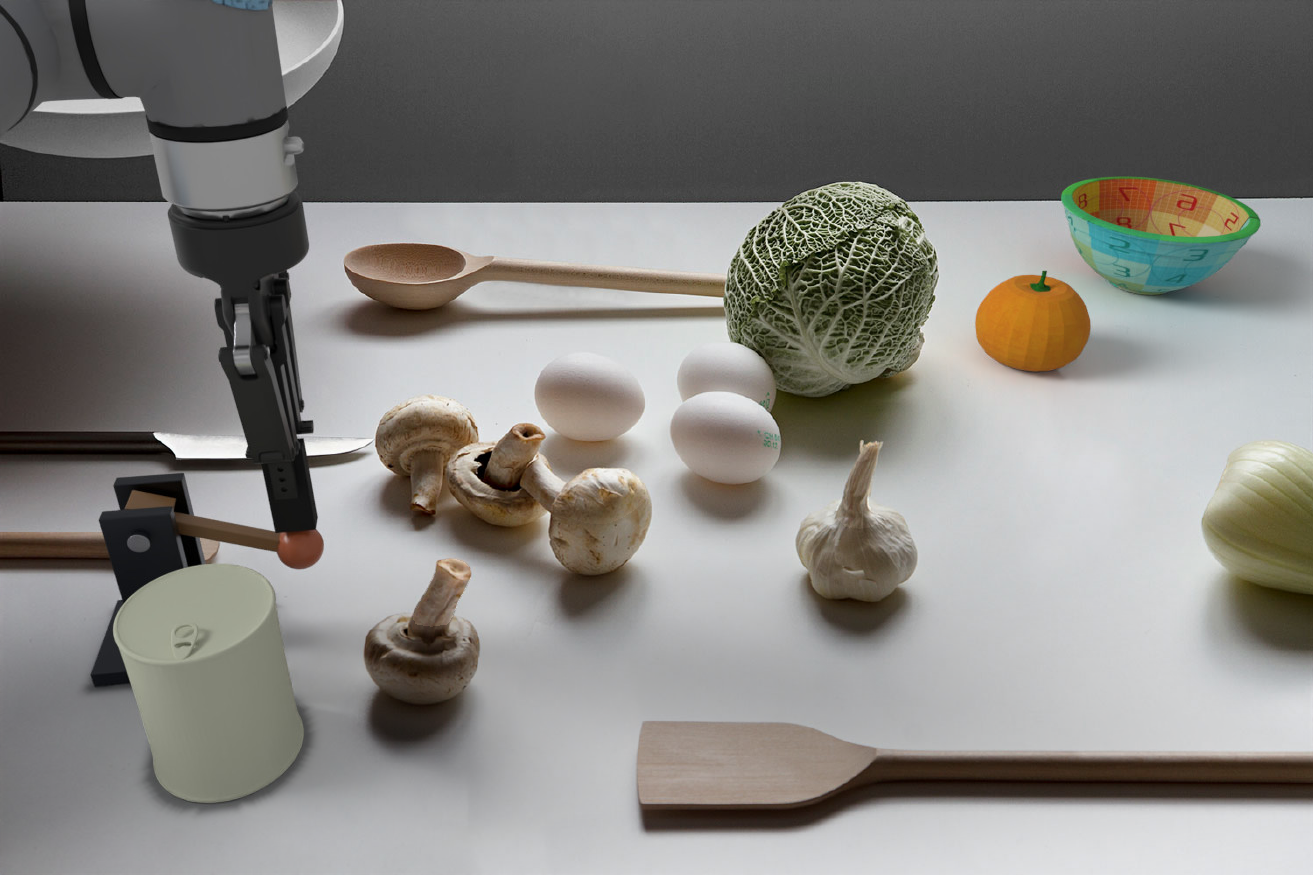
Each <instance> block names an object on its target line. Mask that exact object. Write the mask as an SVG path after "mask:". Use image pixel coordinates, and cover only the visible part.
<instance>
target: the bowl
mask: <svg viewBox="0 0 1313 875" xmlns="http://www.w3.org/2000/svg"><path fill="white" fill-rule="evenodd" d="M1060 196H1061V197H1060V198H1061V199H1060V200H1061V204H1062V206H1063V208H1064V216H1065V219H1066V221H1067V223H1068V228H1069V232H1070V237H1071V239H1072V241H1073V244H1074V246H1075V248H1076V250H1077V252H1078V253H1079V254H1080V257H1081V258H1082V259H1083V261H1084V262H1085V263H1086V264H1087V266H1089V267H1090V268H1091V269H1092V270H1093V271H1094V272H1095V273H1096V274H1098V275H1099V276H1101V277H1102V278H1103V279H1105V280H1106V281H1108V282H1109V283H1110V285H1112V286H1114V287H1115V288H1117V289H1120V290H1122V291H1125V292H1128V293H1133V294H1138V295H1145V296H1146V295H1147V296H1156V295H1163V294H1166V293H1168V292H1173V291H1178V290H1182V289H1185V288H1188V287H1191V286H1194V285H1196V284H1198V283H1200V282H1203V281H1204V280H1206V279H1208V278H1209V277H1212V276H1213V275H1214V274H1216V273H1217V272H1218V271H1220V270H1221V269H1222V268H1223V267H1224V266H1226V265H1227V264H1228V263H1229V262H1230V261H1231V260H1232V259H1233V258H1234V256H1235V255H1236V254H1237V253H1238V252H1239V250H1240V249H1242V248H1243V247H1244V246H1246V244H1247V242H1248V241H1249V240H1250V239H1251V237H1253V235H1255V234H1256V233H1257V232H1258V231H1259V229H1260V228H1261V218H1260V216H1259V214H1258V213H1257V212H1256V211H1254V209H1253V208H1252V207H1250V206H1248V205H1247V204H1245V203H1243V202H1242V201H1240V200H1238V199H1236V198H1235V197H1231V196H1229V195H1227V194H1224V193H1222V192H1219V191H1216V190H1213V189H1210V188H1206V187H1203V186H1200V185H1195V184H1191V183H1186V182H1181V181H1175V180H1170V179H1164V178H1163V179H1161V178H1154V177H1145V176H1103V177H1096V178H1088V179H1085V180H1080V181H1078V182H1074V183H1072V184H1070V185H1069V186H1067V187H1066V188H1065V189H1064V190H1063V191H1062V193H1061V195H1060Z"/></svg>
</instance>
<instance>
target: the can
mask: <svg viewBox="0 0 1313 875" xmlns="http://www.w3.org/2000/svg"><path fill="white" fill-rule="evenodd" d="M113 634H114V639H115V642H116V643H117V645H118V647H119V650H120V653H121V656H122V658H123V661H124V664H125V667H126V670H127V673H128V677H129V680H130V683H131V684H130V686H131V689H132V692H133V695H134V698H135V702H136V704H137V707H138V711H139V715H140V718H141V721H142V725H143V728H144V731H145V734H146V738H147V741H148V744H149V748H150V751H151V755H152V761H153V762H152V765H153V766H152V767H153V771H154V774H155V775H154V776H155V777H156V779H157V781H158V783H159V784H160V785H161V787H162V788H163V789H164V790H165V791H167V792H168V793H169V794H171V795H173V796H174V797H177V798H178V799H182V800H185V801H188V802H191V803H199V804H200V803H201V804H215V803H217V804H218V803H223V802H229V801H234V800H237V799H240V798H244V797H246V796H249V795H251V794H254V793H256V792H258V791H260V790H262V789H264V788H266V787H267V786H269V785H270V784H272V783H273V782H275V781H276V780H277V779H278V778H280V777H281V776H282V775H283V774H284V773H285V772H286V771H287V770H288V769H289V768H290V767H291V765H293V763H294V762H295V761H296V759H297V757H298V756H299V753H300V751H301V749H302V746H303V742H304V737H305V736H304V735H305V728H304V727H305V726H304V723H303V720H302V717H301V715H300V713H299V711H298V706H297V702H296V699H295V694H294V689H293V685H292V679H291V675H290V670H289V664H288V661H287V660H288V659H287V655H286V650H285V646H284V641H283V636H282V630H281V625H280V618H279V613H278V609H277V596H276V592H275V589H274V587H273V584H271V582H270V581H269V580H268V579H267V577H266V576H264V575H263V574H261V573H260V572H258V571H257V570H254V569H252V568H249V567H246V566H243V565H238V564H232V563H206V564H204V565H197V566H192V567H187V568H184V569H180V570H177V571H174V572H171V573H168V574H166V575H163V576H161V577H159V578H157V579H155V580H153V581H151V582H149V583H148V584H146V585H145V586H143V587H142V588H140V589H139V590H138V591H136V592H135V593H134V594H133V595H132V596H130V597H129V598H128V599H127V601H126V602H125V603H124V604H123V605H122V607H121V608H120V610H119V611H118V613H117V615H116V618H115V621H114V626H113Z"/></svg>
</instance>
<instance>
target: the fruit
mask: <svg viewBox="0 0 1313 875" xmlns="http://www.w3.org/2000/svg"><path fill="white" fill-rule="evenodd" d="M1047 273H1048V270H1042V271H1041V275H1039V274H1020V275H1015V276H1012V277H1010V278H1008V279H1006V280H1004V281H1002V282H1000V283H999V284H997V285H996V286H994V287H993V288H992V289H991V290H990V291H989V292H988V293H987V294H986V295H985V297H984V298H983V299H982V301H981V302H980V304H979V306H978V308H977V310H976V314H975V321H974V325H975V336H976V339H977V342H978V344H979V345H980V347H981V348H982V349H983V351H984V353H986V355H988V356H989V357H990V358H992V359H993V360H995V361H996V362H998V363H999V364H1002V365H1004V366H1006V367H1009V368H1012V369H1016V370H1020V371H1026V372H1049V371H1054V370H1058V369H1062V368H1064V367H1066V366H1067V365H1069V364H1071V363H1073V362H1074V361H1076V360H1077V359H1078V358H1079V357H1080V355H1081V354H1082V353H1083V350H1084V349H1085V347H1086V345H1087V344H1088V341H1089V338H1090V336H1091V329H1092V326H1091V317H1090V314H1089V311H1088V307H1087V305H1086V303H1085V301H1084V300H1083V298H1082V297H1081V295H1080V294H1079V293H1078V292H1077V291H1076V290H1075V288H1073V287H1072V286H1071V285H1070V284H1068V282H1067V283H1066V282H1065V281H1063V280H1060V279H1057V278H1054V277H1050V276H1047Z"/></svg>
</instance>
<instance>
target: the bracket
mask: <svg viewBox="0 0 1313 875" xmlns="http://www.w3.org/2000/svg"><path fill="white" fill-rule="evenodd" d="M112 486H113V490H114V493H115V497H116V500H117V504H118V507H119V509H117V510H115V509H114V510H103V511H101V512H100V515H99V518H98V523H99V526H100V530H101V533H102V536H103V540H104V544H105V547H106V550H107V553H108V557H109V560H110V564H111V566H112V570H113V573H114V576H115V581H116V584H117V586H118V591H119V594H120V597H121V599H118V600H116V603H115V607H114V609H113V612H112V615H111V617H110V620H109V623H108V626H107V628H106V631H105V634H104V636H103V639H102V642H101V644H100V646H99V650H98V652H97V655H96V658H95V660H94V664H93V666H92V669H91V672H90V678H91V681H92V684H93V687H94V688H100V687H111V686H121V685H131V683H130V680H129V677H128V673H127V670H126V667H125V664H124V661H123V658H122V656H121V653H120V650H119V647H118V645H117V643H116V642H115V639H114V634H113V626H114V621H115V618H116V615H117V613H118V611H119V610H120V608H121V607H122V605H123V604H124V603H125V602H126V601H127V599H128V598H129V597H130V596H132V595H133V594H134V593H135V592H136V591H138V590H139V589H140V588H142V587H143V586H145V585H146V584H148V583H149V582H151V581H153V580H155V579H157V578H159V577H161V576H163V575H166V574H168V573H171V572H174V571H177V570H180V569H184V568H187V567H192V566H197V565H204V564H207V563H206V559H205V554H204V550H203V546H202V541H201V538H198V537H193V536H188V535H183V534H179V530H178V526H177V522H176V518H175V514H174V512H178V513H183V514H188V515H193V516H195V512H194V509H193V505H192V500H191V496H190V492H189V488H188V482H187V480H186V475H185V472H176V473H175V472H174V473H162V474H161V473H159V474H148V475H135V476H133V475H132V476H120V477H116V478H115V480H114V482H113V485H112ZM132 490H136V491H141V492H146V493H151V494H156V495H161V496H166V497H171V498H176V503H175V507H174V510H173V507H172V506H166V507H153V508H140V509H127V510H125V507H126V505H127V502H128V500H129V497H130V495H131V492H132Z"/></svg>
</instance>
